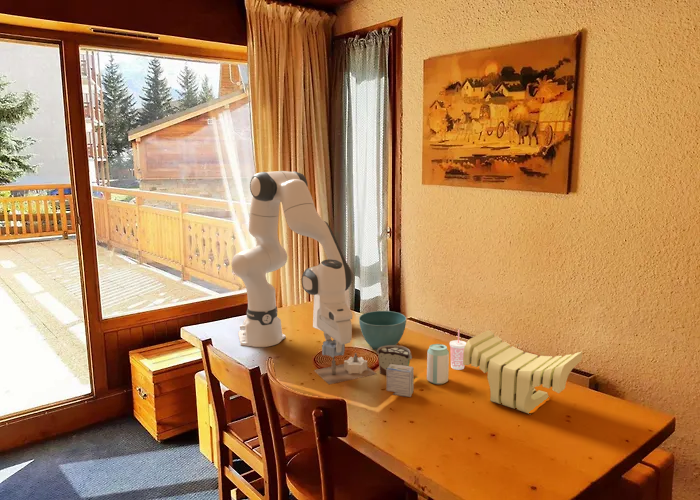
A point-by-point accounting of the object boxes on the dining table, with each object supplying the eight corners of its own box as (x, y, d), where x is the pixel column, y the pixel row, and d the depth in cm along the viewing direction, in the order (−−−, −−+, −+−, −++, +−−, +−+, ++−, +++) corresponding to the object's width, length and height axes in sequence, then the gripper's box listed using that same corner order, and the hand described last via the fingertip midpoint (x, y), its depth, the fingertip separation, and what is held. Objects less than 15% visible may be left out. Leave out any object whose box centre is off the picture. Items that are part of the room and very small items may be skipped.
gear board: (313, 373, 189) (312, 353, 187) (359, 363, 197) (359, 345, 195) (329, 387, 177) (328, 367, 176) (376, 377, 185) (377, 357, 184)
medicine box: (413, 391, 174) (414, 366, 172) (410, 397, 170) (410, 371, 168) (389, 388, 176) (389, 363, 175) (386, 394, 172) (386, 368, 171)
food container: (416, 375, 186) (416, 347, 185) (410, 382, 181) (410, 353, 179) (382, 369, 192) (382, 342, 190) (376, 376, 186) (376, 348, 184)
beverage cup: (446, 368, 192) (447, 330, 189) (451, 362, 197) (452, 325, 194) (463, 371, 189) (464, 333, 186) (468, 365, 194) (469, 328, 192)
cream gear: (340, 371, 187) (340, 362, 187) (353, 363, 194) (352, 355, 193) (358, 376, 183) (358, 367, 183) (370, 368, 190) (370, 359, 189)
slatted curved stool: (462, 395, 171) (463, 342, 167) (487, 379, 182) (489, 329, 179) (556, 428, 151) (560, 367, 148) (577, 407, 162) (582, 351, 159)
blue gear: (318, 351, 185) (318, 342, 184) (339, 347, 188) (339, 338, 188) (327, 358, 178) (327, 349, 178) (348, 354, 182) (348, 345, 181)
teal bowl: (399, 359, 201) (399, 327, 199) (353, 353, 207) (352, 322, 204) (410, 342, 218) (410, 313, 216) (367, 337, 224) (366, 309, 221)
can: (430, 375, 187) (431, 341, 184) (450, 378, 184) (451, 344, 181) (424, 382, 180) (424, 348, 178) (444, 386, 177) (445, 352, 175)
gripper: (311, 302, 188) (312, 340, 191) (337, 318, 170) (337, 360, 173) (328, 299, 191) (329, 337, 194) (355, 315, 173) (355, 356, 176)
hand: (333, 348), depth 183 cm, fingers closed on blue gear, 6 cm apart
